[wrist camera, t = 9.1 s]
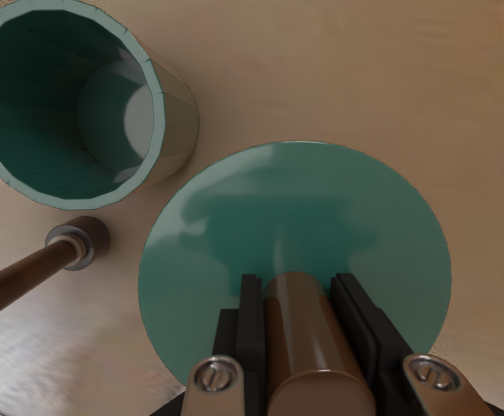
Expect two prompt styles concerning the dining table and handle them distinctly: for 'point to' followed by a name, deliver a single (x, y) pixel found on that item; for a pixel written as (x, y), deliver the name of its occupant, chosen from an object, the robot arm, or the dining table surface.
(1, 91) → the jar
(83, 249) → the peg on round base
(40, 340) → the dining table surface
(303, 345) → the jar lid
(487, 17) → the dining table surface
